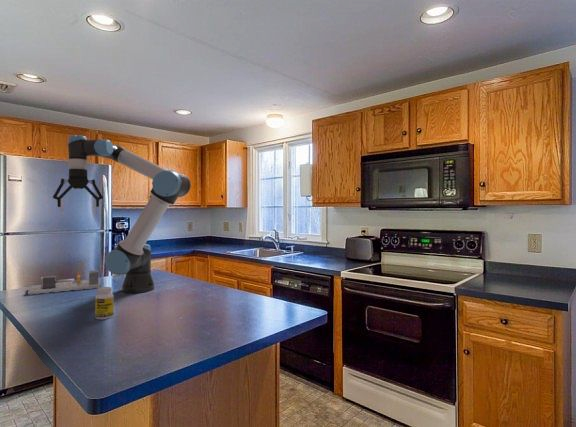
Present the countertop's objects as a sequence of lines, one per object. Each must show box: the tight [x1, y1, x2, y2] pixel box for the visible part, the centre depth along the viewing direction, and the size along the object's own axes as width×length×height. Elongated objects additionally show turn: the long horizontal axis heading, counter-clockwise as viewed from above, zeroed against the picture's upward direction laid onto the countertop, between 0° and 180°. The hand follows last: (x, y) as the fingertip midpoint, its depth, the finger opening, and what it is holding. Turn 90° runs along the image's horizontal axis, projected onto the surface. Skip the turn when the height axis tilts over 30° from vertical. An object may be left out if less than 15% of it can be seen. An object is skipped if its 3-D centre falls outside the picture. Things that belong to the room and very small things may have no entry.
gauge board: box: [27, 269, 102, 296], centre depth 179 cm, size 30×13×8 cm, turn 122°
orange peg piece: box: [76, 270, 81, 282], centre depth 185 cm, size 2×3×5 cm, turn 32°
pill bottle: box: [94, 286, 115, 320], centre depth 133 cm, size 6×6×11 cm
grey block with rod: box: [40, 275, 75, 288], centre depth 177 cm, size 14×10×5 cm
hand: (78, 214), depth 166 cm, fingers open, 13 cm apart
